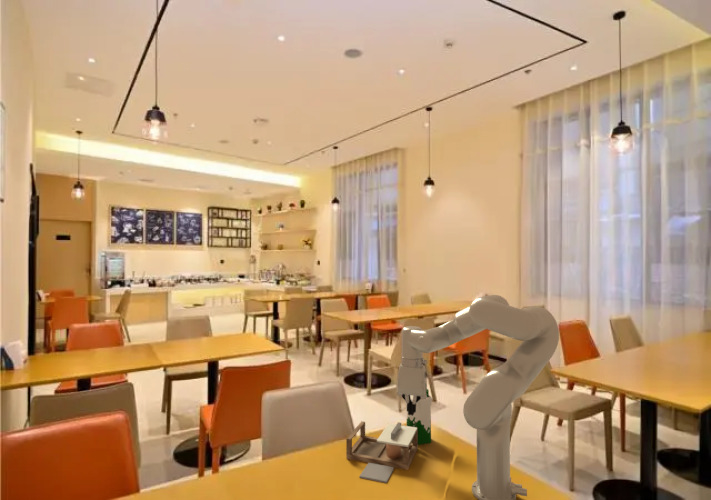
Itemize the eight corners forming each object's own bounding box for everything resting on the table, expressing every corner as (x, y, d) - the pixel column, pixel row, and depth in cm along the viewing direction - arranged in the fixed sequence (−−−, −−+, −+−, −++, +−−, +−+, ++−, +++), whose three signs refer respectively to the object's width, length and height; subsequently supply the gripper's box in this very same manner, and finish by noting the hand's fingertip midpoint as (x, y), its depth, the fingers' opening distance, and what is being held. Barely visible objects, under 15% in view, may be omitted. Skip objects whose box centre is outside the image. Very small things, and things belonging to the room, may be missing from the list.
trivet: (394, 471, 134) (394, 467, 134) (386, 486, 125) (386, 481, 125) (368, 467, 137) (368, 462, 137) (359, 480, 128) (359, 475, 129)
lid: (417, 429, 148) (417, 422, 148) (408, 447, 134) (408, 439, 134) (388, 425, 152) (388, 418, 152) (376, 442, 138) (376, 434, 138)
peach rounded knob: (403, 452, 145) (403, 433, 145) (399, 460, 139) (399, 440, 139) (387, 449, 147) (387, 430, 147) (383, 457, 141) (383, 437, 141)
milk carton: (434, 445, 152) (434, 392, 153) (413, 449, 150) (412, 395, 150) (424, 436, 161) (423, 385, 161) (403, 439, 158) (403, 388, 158)
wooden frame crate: (417, 451, 148) (417, 429, 148) (407, 472, 133) (407, 448, 133) (361, 441, 156) (361, 421, 156) (346, 461, 141) (346, 438, 141)
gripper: (434, 361, 142) (434, 413, 142) (394, 357, 148) (393, 407, 148) (431, 367, 135) (430, 421, 135) (388, 362, 141) (388, 414, 140)
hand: (411, 413), depth 141 cm, fingers closed
